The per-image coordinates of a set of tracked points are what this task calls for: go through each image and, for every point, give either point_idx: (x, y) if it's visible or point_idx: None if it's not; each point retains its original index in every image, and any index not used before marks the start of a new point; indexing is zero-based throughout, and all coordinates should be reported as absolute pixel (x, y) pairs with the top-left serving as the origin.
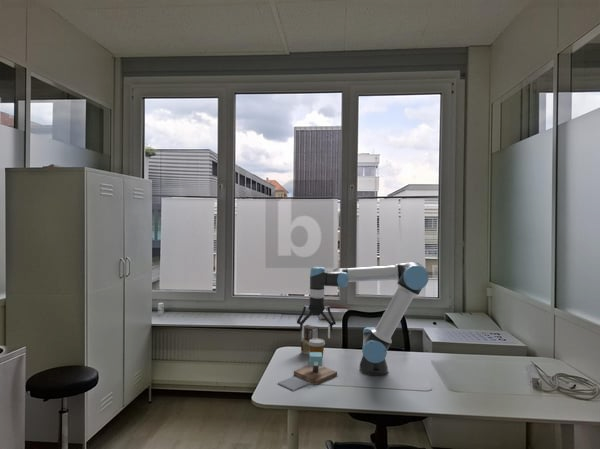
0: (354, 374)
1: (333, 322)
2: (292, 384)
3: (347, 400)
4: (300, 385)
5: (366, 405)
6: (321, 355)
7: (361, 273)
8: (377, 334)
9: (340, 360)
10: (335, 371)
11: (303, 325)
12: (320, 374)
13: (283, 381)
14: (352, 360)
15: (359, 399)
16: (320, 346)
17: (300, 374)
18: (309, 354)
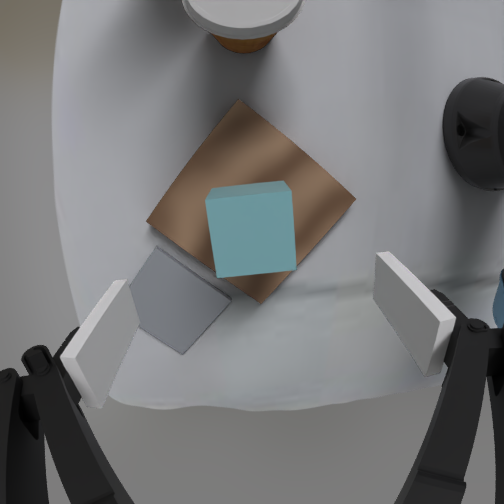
0: (420, 175)
1: (492, 387)
2: (168, 319)
3: (355, 376)
4: (199, 322)
5: (396, 385)
6: (290, 251)
7: None
8: None
9: (365, 12)
10: (348, 196)
11: (97, 406)
12: None
13: None
14: (416, 18)
15: (389, 364)
16: (274, 32)
17: (182, 246)
18: None
